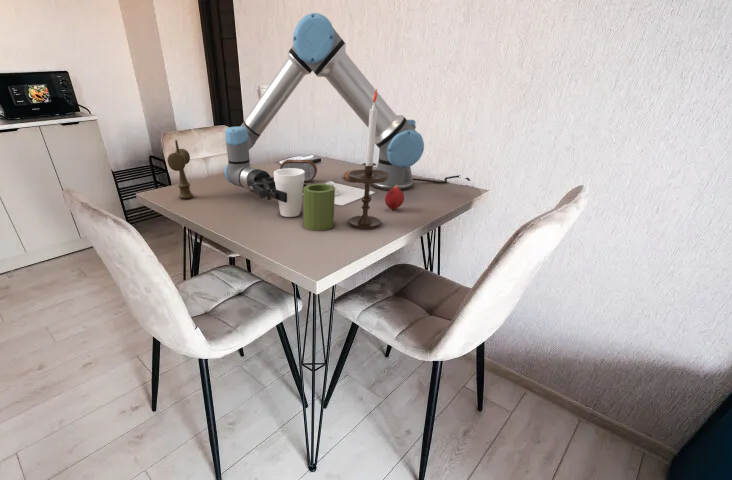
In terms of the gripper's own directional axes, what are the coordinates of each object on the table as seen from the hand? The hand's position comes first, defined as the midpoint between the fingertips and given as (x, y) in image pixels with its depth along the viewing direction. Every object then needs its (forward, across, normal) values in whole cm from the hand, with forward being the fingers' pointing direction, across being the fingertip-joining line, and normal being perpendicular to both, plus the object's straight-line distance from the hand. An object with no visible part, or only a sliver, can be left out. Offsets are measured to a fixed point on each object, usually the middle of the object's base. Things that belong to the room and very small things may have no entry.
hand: (299, 194), depth 113 cm
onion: (+16, -26, -8) cm, 32 cm away
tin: (-32, -28, -8) cm, 43 cm away
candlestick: (+17, -10, -8) cm, 22 cm away
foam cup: (-4, 0, -7) cm, 9 cm away
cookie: (-18, -47, -8) cm, 51 cm away
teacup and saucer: (-10, -27, -8) cm, 30 cm away
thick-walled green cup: (+9, 0, -7) cm, 11 cm away
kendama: (-45, +16, -8) cm, 49 cm away
